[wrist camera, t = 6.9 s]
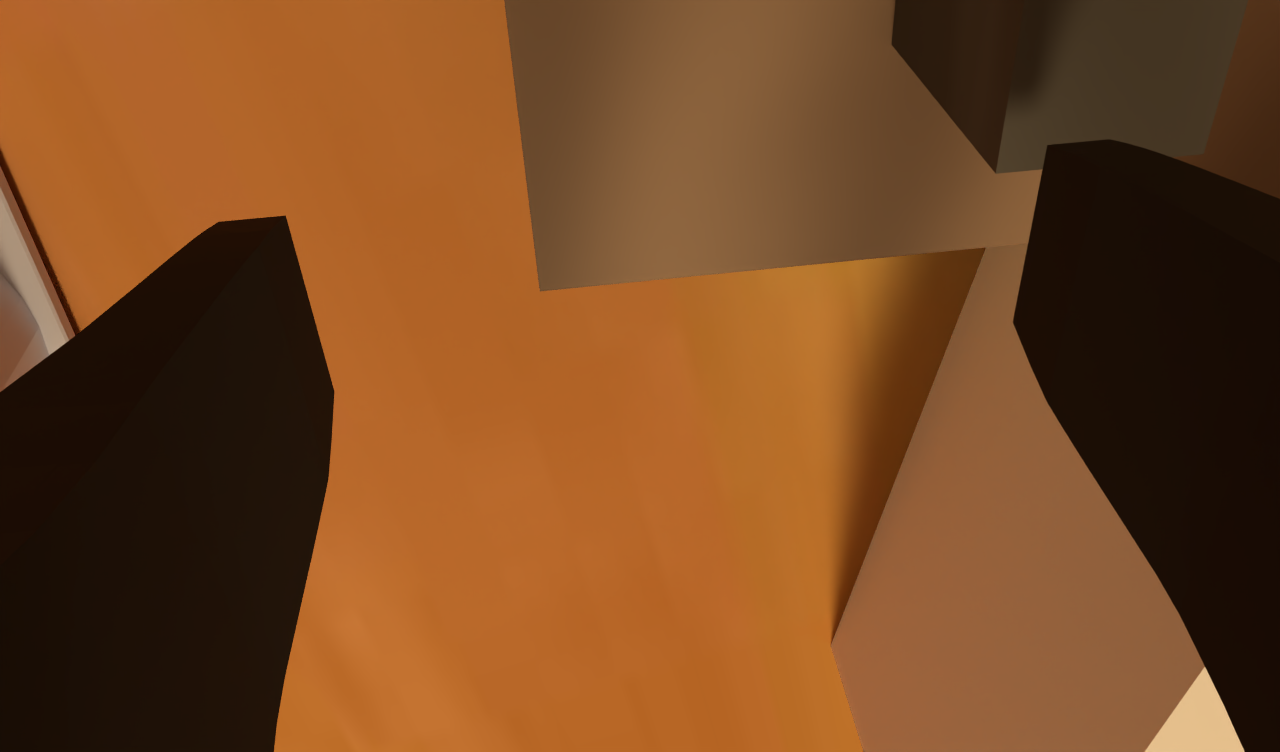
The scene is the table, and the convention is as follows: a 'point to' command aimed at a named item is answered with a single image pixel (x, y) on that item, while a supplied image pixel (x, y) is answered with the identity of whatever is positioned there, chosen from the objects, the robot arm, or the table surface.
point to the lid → (858, 121)
